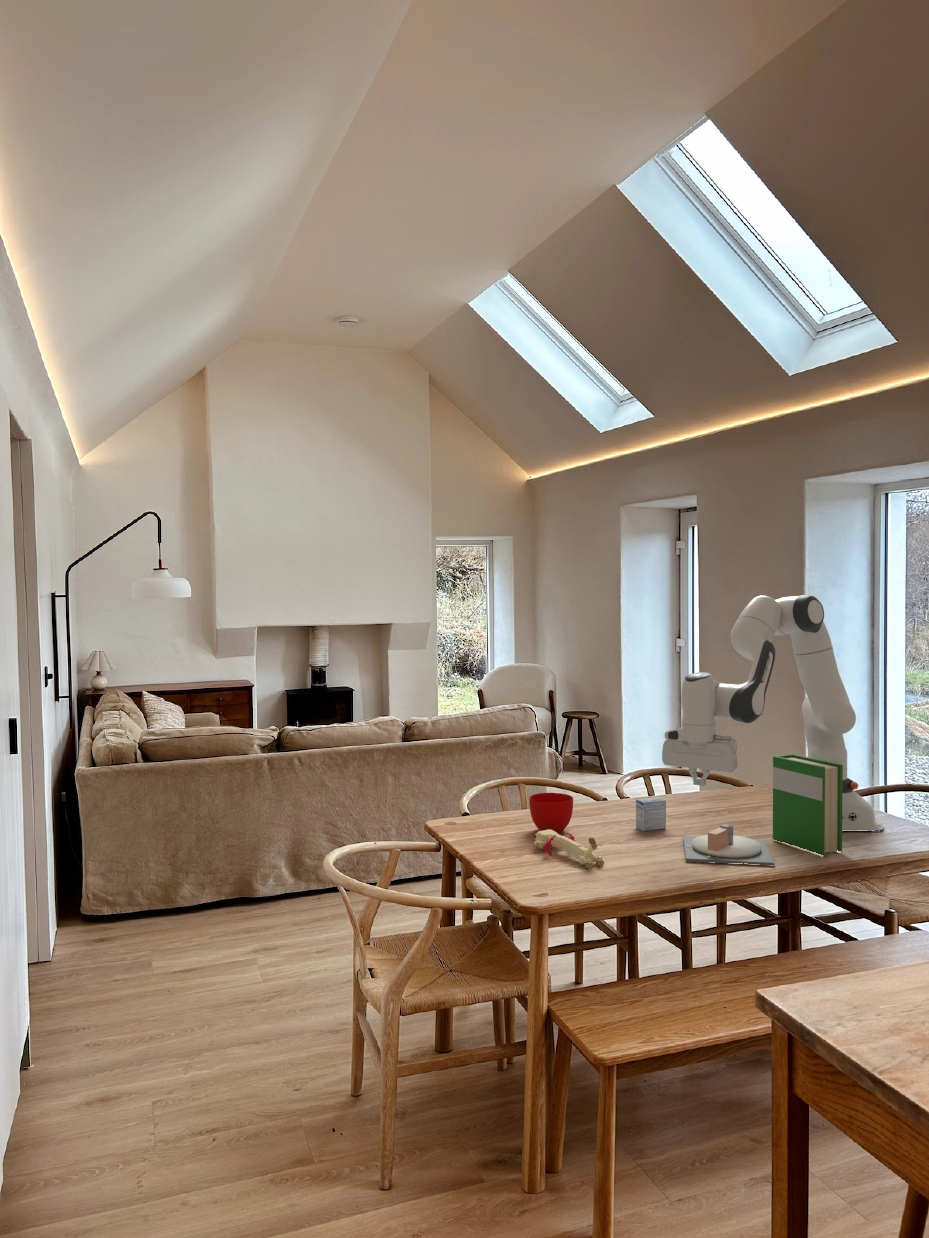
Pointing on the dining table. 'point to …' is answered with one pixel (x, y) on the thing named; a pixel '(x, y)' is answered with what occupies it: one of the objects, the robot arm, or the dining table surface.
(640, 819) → the medicine box
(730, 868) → the dining table surface
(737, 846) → the dial
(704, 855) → the dial base plate
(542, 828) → the ceramic cup
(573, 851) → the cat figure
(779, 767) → the hardback book
